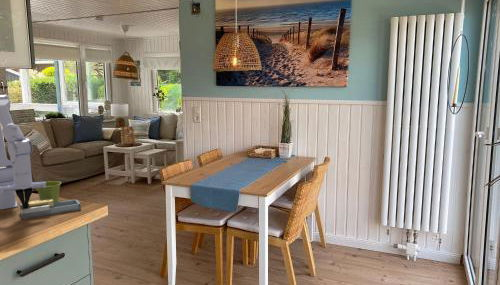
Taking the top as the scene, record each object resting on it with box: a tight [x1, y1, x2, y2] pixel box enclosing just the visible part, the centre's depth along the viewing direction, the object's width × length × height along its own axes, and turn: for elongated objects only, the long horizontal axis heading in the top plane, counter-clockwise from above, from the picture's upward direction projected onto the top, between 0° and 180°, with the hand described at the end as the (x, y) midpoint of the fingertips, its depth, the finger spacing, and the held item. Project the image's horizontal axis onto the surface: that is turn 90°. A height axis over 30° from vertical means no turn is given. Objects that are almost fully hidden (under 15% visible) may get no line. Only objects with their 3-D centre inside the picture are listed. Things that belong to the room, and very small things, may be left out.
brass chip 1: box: [28, 199, 41, 208], centre depth 145 cm, size 4×4×2 cm
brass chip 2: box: [39, 198, 54, 208], centre depth 148 cm, size 4×4×2 cm
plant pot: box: [36, 180, 62, 203], centre depth 156 cm, size 9×9×9 cm
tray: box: [50, 198, 82, 215], centre depth 151 cm, size 8×11×2 cm
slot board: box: [19, 203, 51, 220], centre depth 146 cm, size 9×9×4 cm
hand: (25, 208), depth 144 cm, fingers closed
